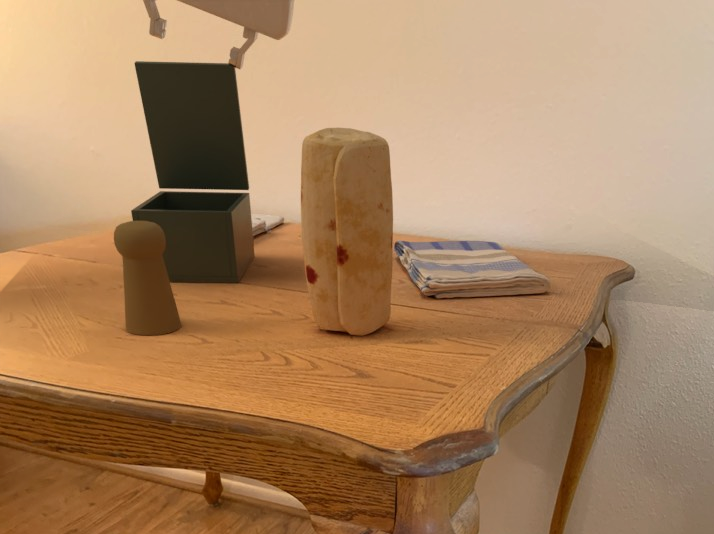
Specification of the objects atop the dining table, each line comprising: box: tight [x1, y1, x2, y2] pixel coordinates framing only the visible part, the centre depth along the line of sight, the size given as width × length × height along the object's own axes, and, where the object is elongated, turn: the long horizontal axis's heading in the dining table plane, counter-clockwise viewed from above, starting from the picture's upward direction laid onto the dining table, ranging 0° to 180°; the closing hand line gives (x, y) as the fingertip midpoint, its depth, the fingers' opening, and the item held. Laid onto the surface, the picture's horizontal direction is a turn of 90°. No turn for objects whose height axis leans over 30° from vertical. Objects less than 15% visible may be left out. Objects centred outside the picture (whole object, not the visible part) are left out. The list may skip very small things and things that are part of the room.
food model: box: [300, 127, 394, 337], centre depth 81 cm, size 10×7×20 cm
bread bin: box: [130, 190, 255, 284], centre depth 105 cm, size 15×13×9 cm
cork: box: [113, 220, 182, 336], centre depth 83 cm, size 6×6×11 cm
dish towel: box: [393, 240, 551, 300], centre depth 107 cm, size 17×24×3 cm
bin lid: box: [134, 60, 250, 191], centre depth 105 cm, size 16×13×5 cm
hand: (196, 51), depth 92 cm, fingers open, 8 cm apart
